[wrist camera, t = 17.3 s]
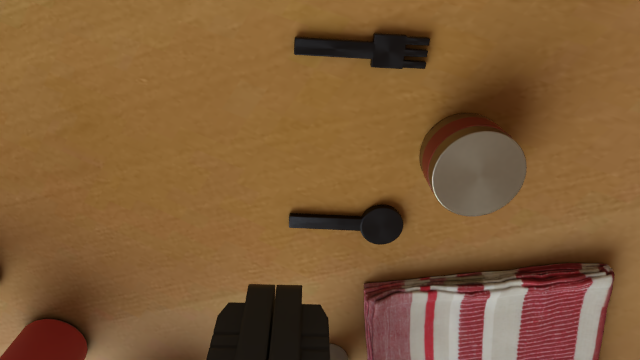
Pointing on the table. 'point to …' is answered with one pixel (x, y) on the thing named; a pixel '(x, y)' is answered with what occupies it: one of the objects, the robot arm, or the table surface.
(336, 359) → the grey hollow cylinder
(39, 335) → the beer can
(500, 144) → the tin can
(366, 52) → the fork
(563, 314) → the dish towel
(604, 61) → the table surface
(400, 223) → the spoon
